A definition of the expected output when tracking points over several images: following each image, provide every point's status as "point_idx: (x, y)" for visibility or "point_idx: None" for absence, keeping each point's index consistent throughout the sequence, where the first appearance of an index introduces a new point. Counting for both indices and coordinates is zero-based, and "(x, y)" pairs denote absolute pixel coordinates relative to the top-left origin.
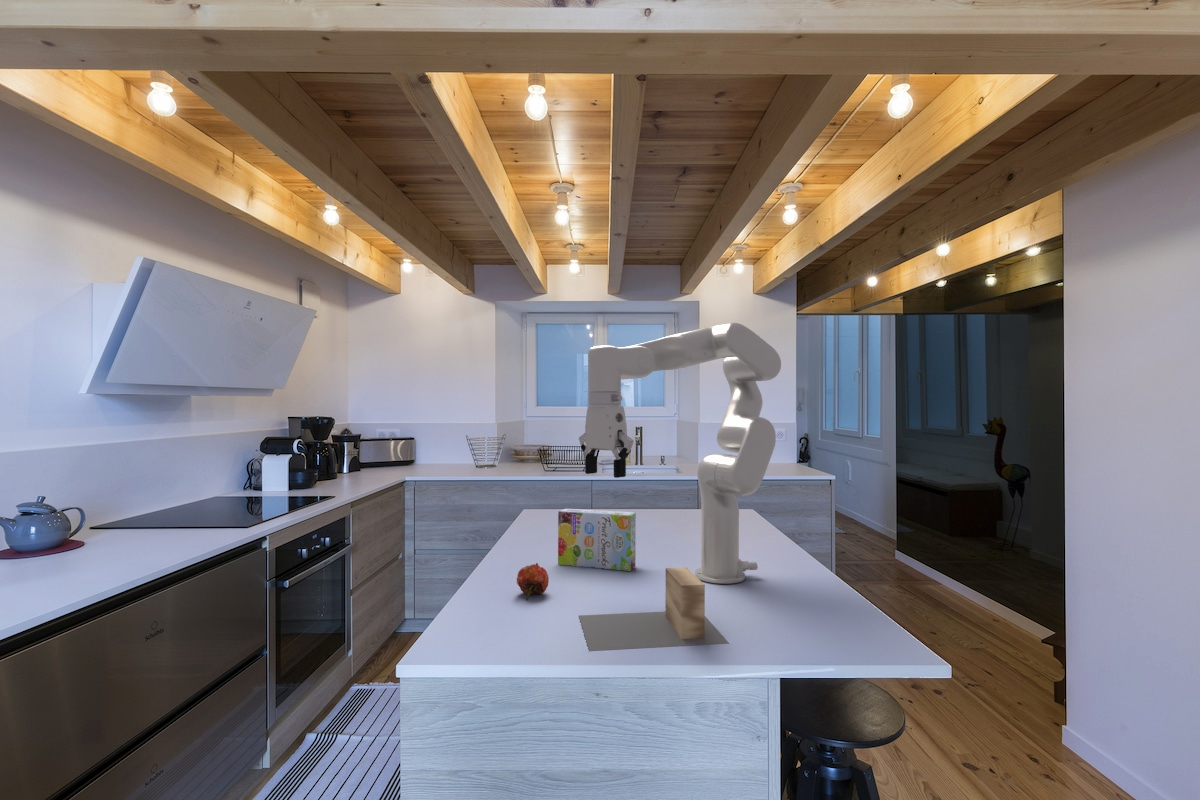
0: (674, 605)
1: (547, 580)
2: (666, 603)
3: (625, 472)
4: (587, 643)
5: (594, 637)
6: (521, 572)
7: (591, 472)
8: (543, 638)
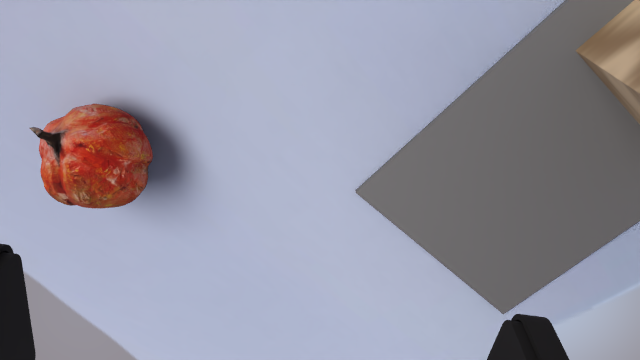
0: None
1: (142, 143)
2: (602, 72)
3: (560, 351)
4: (479, 293)
5: (475, 265)
6: (74, 204)
7: (26, 326)
8: (376, 312)
